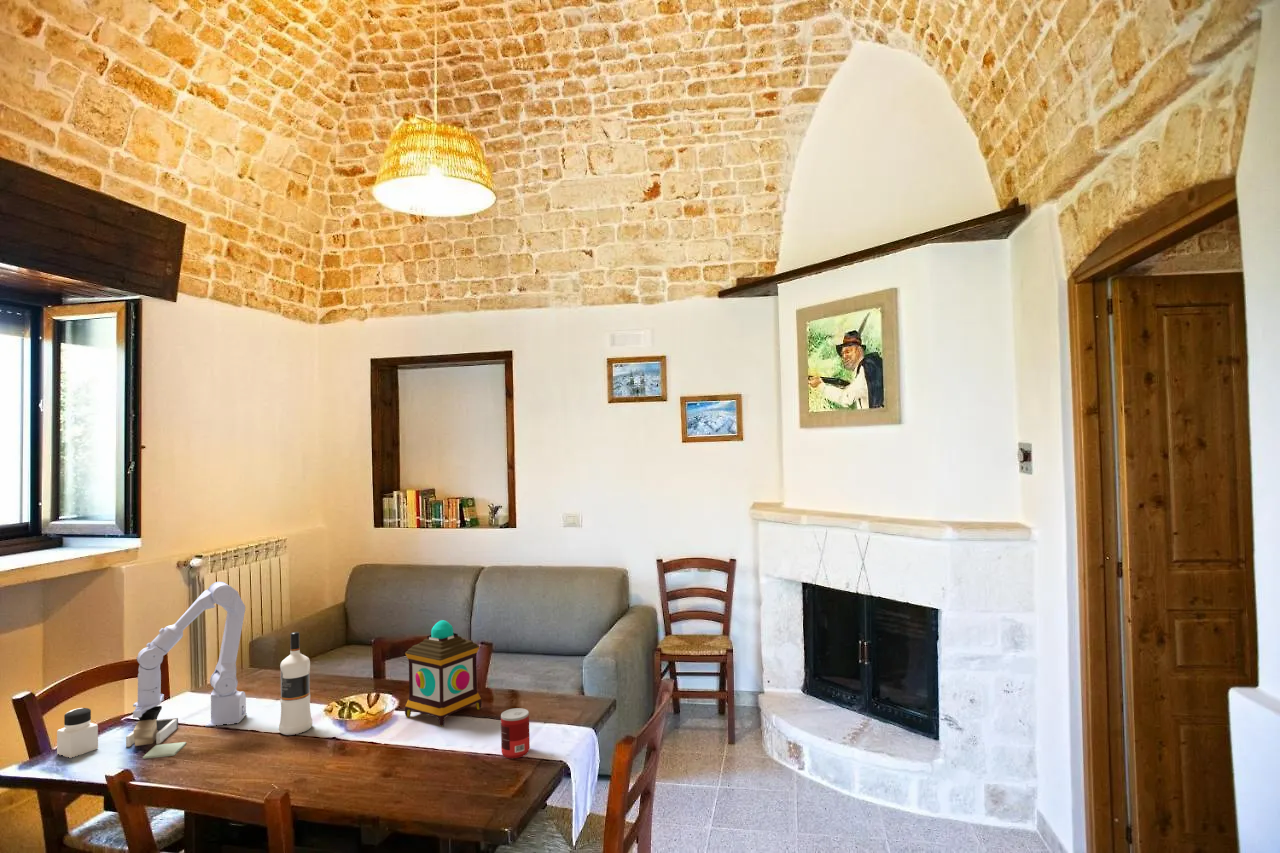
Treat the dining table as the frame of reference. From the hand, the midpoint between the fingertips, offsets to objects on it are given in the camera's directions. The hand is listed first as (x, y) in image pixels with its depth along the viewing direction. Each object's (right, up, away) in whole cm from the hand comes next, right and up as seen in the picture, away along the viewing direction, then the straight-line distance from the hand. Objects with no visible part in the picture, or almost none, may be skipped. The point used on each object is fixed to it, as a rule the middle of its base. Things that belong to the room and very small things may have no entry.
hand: (148, 733), depth 211 cm
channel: (0, -2, +1) cm, 2 cm away
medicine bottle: (-15, -2, -8) cm, 17 cm away
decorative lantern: (+85, 0, +15) cm, 87 cm away
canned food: (+114, +1, -15) cm, 115 cm away
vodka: (+43, -1, +4) cm, 43 cm away
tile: (+11, -1, -9) cm, 14 cm away
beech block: (+1, -2, -2) cm, 2 cm away
